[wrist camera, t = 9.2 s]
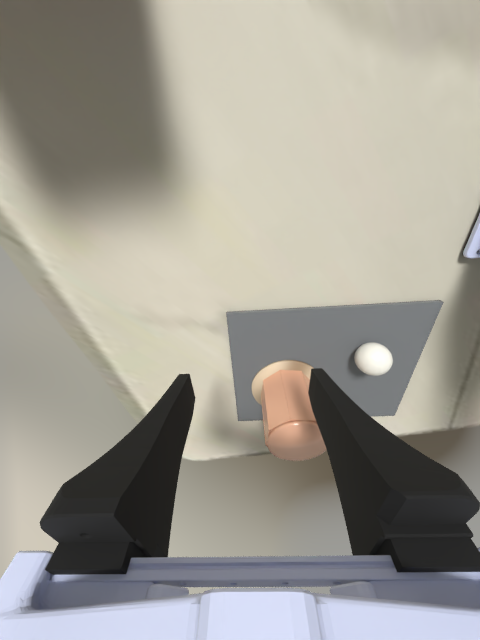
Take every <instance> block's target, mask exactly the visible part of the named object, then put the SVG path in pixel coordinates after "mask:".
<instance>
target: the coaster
mask: <svg viewBox="0 0 480 640" xmlns="http://www.w3.org/2000/svg"><path fill="white" fill-rule="evenodd" d="M311 369H314V368H313V367H312V366H311V365H309V364H307V363H305V362H302V361H297V360H281V361H277V362H273V363H271V364H269V365H267V366H265V367H263V368H262V369H261V370H260V371H259V372H258V373H257V374H256V375H255V377H254V379H253V381H252V394H253V396H254V398H255V400H256V401H257V402H258V403H259V404H260V405H262V401H261V391H262V385H263V380H264V379H266V378H267V377H269V376H271V375H272V374H274V373H276V372H277V371H279V370H294V371H302V372H303V373H304V374H305V375H306V376H307V377H308V378H309V379H310V375H311Z"/></svg>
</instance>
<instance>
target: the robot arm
mask: <svg viewBox="0 0 480 640" xmlns="http://www.w3.org/2000/svg"><path fill="white" fill-rule="evenodd" d="M478 250H479V251H478ZM477 251H478V252H477ZM476 252H477V253H476ZM463 256H464V257H466V258H480V214H479V216H478V219H477V221H476V223H475V226H474V228H473V230H472V233H471V235H470V237H469V240H468V242H467V244H466V247H465V249H464V251H463ZM308 394H309V399H310V403H311V407H312V411H313V414H314V416H315V419H316V422H317V425H318V427H319V430H320V433H321V435H322V438H323V441H324V443H325V446H326V449H327V452H328V455H329V458H330V462H331V465H332V469H333V473H334V476H335V481H336V484H337V488H338V492H339V496H340V500H341V504H342V509H343V513H344V517H345V521H346V526H347V530H348V535H349V540H350V544H351V549H352V554H353V556H260V557H259V556H257V557H168V548H169V539H170V530H171V523H172V515H173V508H174V501H175V493H176V488H177V481H178V475H179V469H180V463H181V458H182V454H183V450H184V446H185V442H186V439H187V435H188V431H189V427H190V424H191V420H192V416H193V410H194V403H195V395H194V391H193V387H192V383H191V379H190V374H179V375H178V376H177V378H176V379H175V380H174V382H173V383H172V385H171V386H170V387H169V389H168V390H167V391H166V392H165V394H164V395H163V396H162V397H161V399H160V400H159V401H158V402H157V404H156V405H155V406H154V407H153V408H152V409H151V411H150V412H149V413H148V414H147V415H146V416H145V417H144V418H143V419H142V421H141V422H140V423H139V424H138V425H137V426H136V427H135V428H134V429H133V430H132V431H131V432H130V433H129V434H128V435H126V436H125V437H124V438H123V439H122V440H121V441H120V442H119V443H117V444H116V445H115V446H114V447H113V448H112V449H110V450H109V451H108V452H107V453H105V454H104V455H103V456H102V457H100V458H99V459H98V460H96V461H95V462H94V463H93V464H91V465H90V466H88V467H87V468H86V469H84V470H83V471H82V472H80V473H79V474H77V475H76V476H74V477H73V478H71V479H70V480H69V481H67V482H65V483H64V484H63V485H62V487H61V488H60V490H59V491H58V493H57V494H56V496H55V498H54V499H53V501H52V503H51V504H50V506H49V508H48V509H47V511H46V512H45V514H44V516H43V517H42V519H41V521H40V526H41V529H42V530H43V531H44V532H46V533H47V534H48V535H49V536H51V537H52V538H53V539H55V540H56V541H57V542H59V544H58V546H57V548H56V550H55V551H54V553H53V552H49V551H19V552H18V553H17V554H16V555H15V557H14V558H13V560H12V561H11V563H10V565H9V566H8V568H7V569H6V571H5V573H4V574H3V576H2V577H1V579H0V640H480V547H479V548H477V547H476V546H475V544H474V543H473V541H472V540H471V538H472V537H473V533H472V532H471V530H470V529H469V527H468V526H467V524H466V522H468V521H469V520H470V519H471V518H472V517H473V516H474V515H475V514H476V513H477V512H478V510H479V507H480V502H479V501H478V500H477V499H476V497H475V496H474V495H473V493H472V492H471V490H470V489H469V488H468V486H467V485H466V484H465V483H464V481H463V480H462V479H461V478H460V477H459V476H458V474H456V473H455V472H453V471H451V470H449V469H448V468H446V467H444V466H442V465H441V464H439V463H437V462H435V461H434V460H432V459H430V458H428V457H427V456H425V455H424V454H422V453H421V452H419V451H417V450H416V449H414V448H413V447H411V446H410V445H408V444H407V443H405V442H404V441H402V440H401V439H399V438H398V437H396V436H395V435H394V434H392V433H391V432H389V431H388V430H387V429H385V428H384V427H383V426H381V425H380V424H379V423H378V422H376V421H375V420H374V419H373V418H371V417H370V416H369V415H368V414H367V413H366V412H365V411H363V410H362V409H361V408H360V407H359V406H358V405H357V404H356V403H355V402H354V401H353V400H352V399H351V398H350V397H349V396H348V395H347V394H346V393H345V392H344V391H343V390H342V389H341V388H340V387H339V386H338V385H337V384H336V383H335V382H334V381H333V380H332V379H331V377H330V376H329V375H328V374H327V373H326V372H325V371H324V370H323V369H322V368H314V369H311V375H310V383H309V391H308ZM296 586H297V587H315V586H316V587H317V586H318V587H321V586H322V587H323V586H332V587H331V589H330V593H331V594H321V593H311V592H310V591H308V590H304V589H298V588H219V589H211V590H208V591H205V592H204V593H200V594H190V595H189V591H188V589H187V588H182V587H296Z"/></svg>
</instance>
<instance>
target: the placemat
mask: <svg viewBox="0 0 480 640" xmlns="http://www.w3.org/2000/svg"><path fill="white" fill-rule="evenodd" d="M442 304H443V302H442V301H441V300H435V301H417V302H399V303H380V304H362V305H344V306H326V307H308V308H289V309H271V310H253V311H235V312H227V313H226V315H227V324H228V333H229V342H230V351H231V360H232V369H233V378H234V387H235V396H236V405H237V414H238V421H253V420H263V412H262V405H260V404H259V403H258V402H257V401H256V400H255V398H254V396H253V394H252V381H253V379H254V377H255V375H256V374H257V373H258V372H259V371H260V370H261V369H262V368H263V367H265V366H267V365H269V364H271V363H273V362H277V361H281V360H297V361H302V362H305V363H307V364H309V365H311V366H312V367H313V368H322V369H323V370H324V371H325V372H326V373H327V374H328V375H329V376H330V377H331V379H332V380H333V381H334V382H335V383H336V384H337V385H338V386H339V387H340V388H341V389H342V390H343V391H344V392H345V393H346V394H347V395H348V396H349V397H350V398H351V399H352V400H353V401H354V402H355V403H356V404H357V405H358V406H359V407H360V408H361V409H362V410H363V411H365V412H366V413H367V414H368V415H369V416H395V413H396V411H397V409H398V406H399V404H400V402H401V399H402V397H403V395H404V392H405V390H406V388H407V385H408V383H409V381H410V378H411V376H412V374H413V371H414V369H415V367H416V365H417V362H418V360H419V358H420V355H421V353H422V351H423V348H424V346H425V344H426V341H427V339H428V337H429V334H430V332H431V330H432V327H433V325H434V323H435V320H436V318H437V316H438V314H439V311H440V309H441V307H442ZM370 342H374V343H379V344H381V345H383V346H385V347H386V348H387V349H388V350H389V351H390V353H391V355H392V358H393V363H392V366H391V368H390V369H389V371H388V372H386V373H385V374H382V375H378V376H373V375H368V374H366V373H364V372H362V371H361V370H360V369H359V368H358V367H357V365H356V363H355V359H354V357H355V352H356V350H357V349H358V348H359V347H360V346H361V345H363V344H365V343H370Z"/></svg>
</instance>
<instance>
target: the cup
mask: <svg viewBox="0 0 480 640" xmlns="http://www.w3.org/2000/svg"><path fill="white" fill-rule="evenodd" d="M309 383H310V379H309V378H308V377H307V376H306V375H305V374H304V373H303V372H302V371H294V370H279V371H277V372H276V373H274V374H272V375H271V376H269V377H267V378H266V379H264V380H263V385H262V391H261V401H262V412H263V423H264V434H265V444H266V446H267V447H268V449H269V451H270V452H271V453H272V454H273V455H274V456H276V457H278V458H281V459H284V460H289V461H302V460H307V459H311V458H314V457H316V456H319V455H320V454H322V453H323V452H324V451H326V450H327V449H326V446H325V443H324V441H323V438H322V435H321V433H320V430H319V427H318V425H317V422H316V419H315V416H314V414H313V411H312V407H311V403H310V399H309V394H308V391H309Z"/></svg>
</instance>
